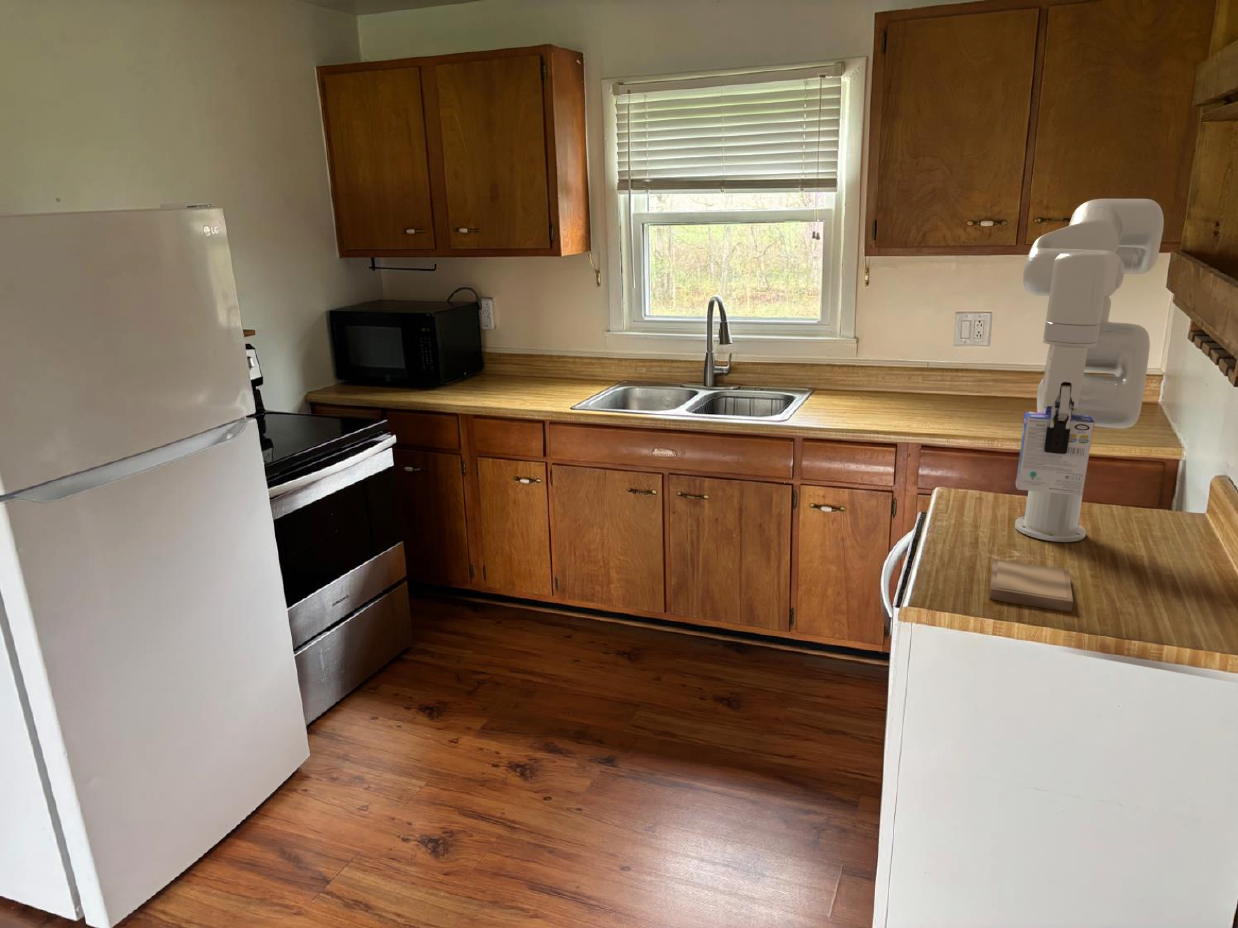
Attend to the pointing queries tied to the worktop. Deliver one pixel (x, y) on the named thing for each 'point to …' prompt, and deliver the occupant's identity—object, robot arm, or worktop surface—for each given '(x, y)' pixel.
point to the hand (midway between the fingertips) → (1054, 447)
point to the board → (1031, 585)
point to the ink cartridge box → (1054, 456)
